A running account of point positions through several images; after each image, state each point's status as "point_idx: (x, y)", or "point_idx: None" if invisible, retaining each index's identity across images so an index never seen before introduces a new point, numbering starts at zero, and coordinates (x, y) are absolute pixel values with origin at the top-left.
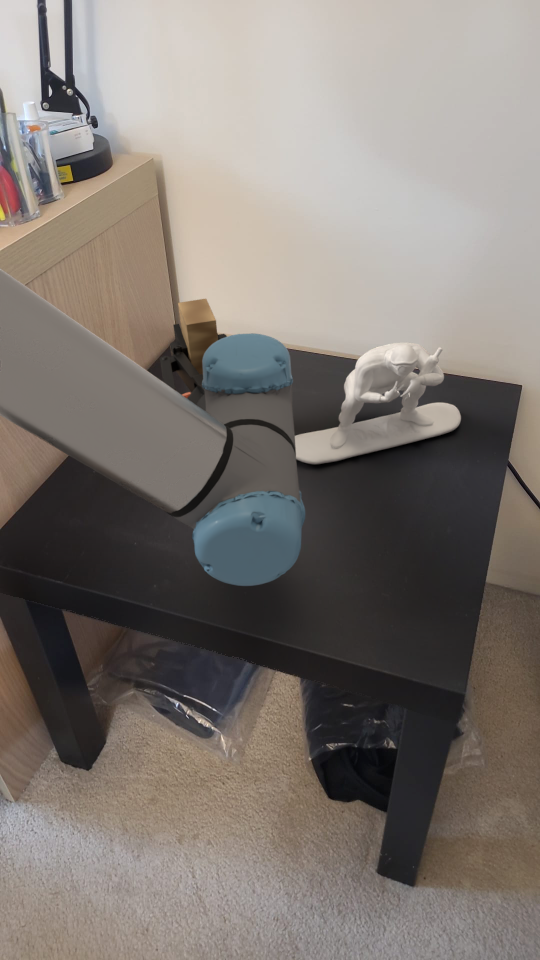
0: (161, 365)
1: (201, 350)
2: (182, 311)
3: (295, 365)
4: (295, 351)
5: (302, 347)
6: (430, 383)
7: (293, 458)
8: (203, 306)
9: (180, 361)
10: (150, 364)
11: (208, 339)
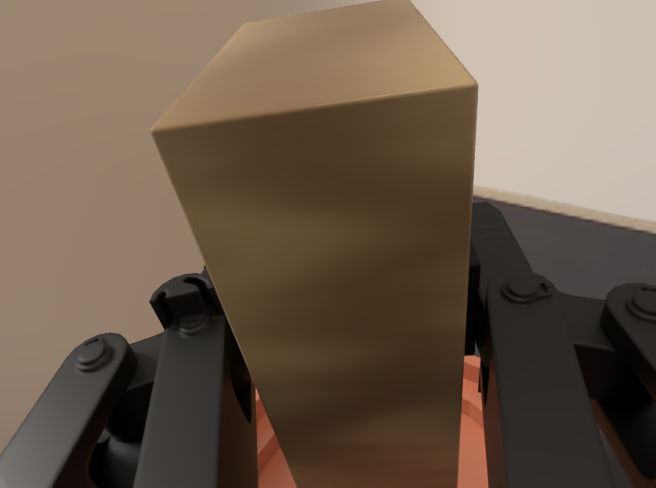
0: (15, 436)
1: (327, 341)
2: (225, 50)
3: (629, 267)
4: (617, 229)
5: (632, 220)
6: None
7: None
8: (378, 20)
9: (155, 418)
10: None
11: (384, 271)
